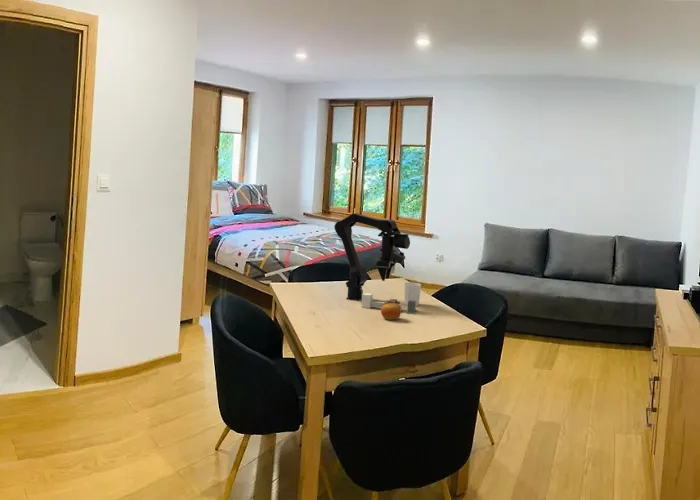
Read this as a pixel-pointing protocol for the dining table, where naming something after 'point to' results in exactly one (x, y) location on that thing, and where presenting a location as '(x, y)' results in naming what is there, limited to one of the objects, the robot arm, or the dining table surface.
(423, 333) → the dining table surface
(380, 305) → the grey bar
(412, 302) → the telltale
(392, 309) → the fruit
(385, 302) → the housing
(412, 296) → the white cup
